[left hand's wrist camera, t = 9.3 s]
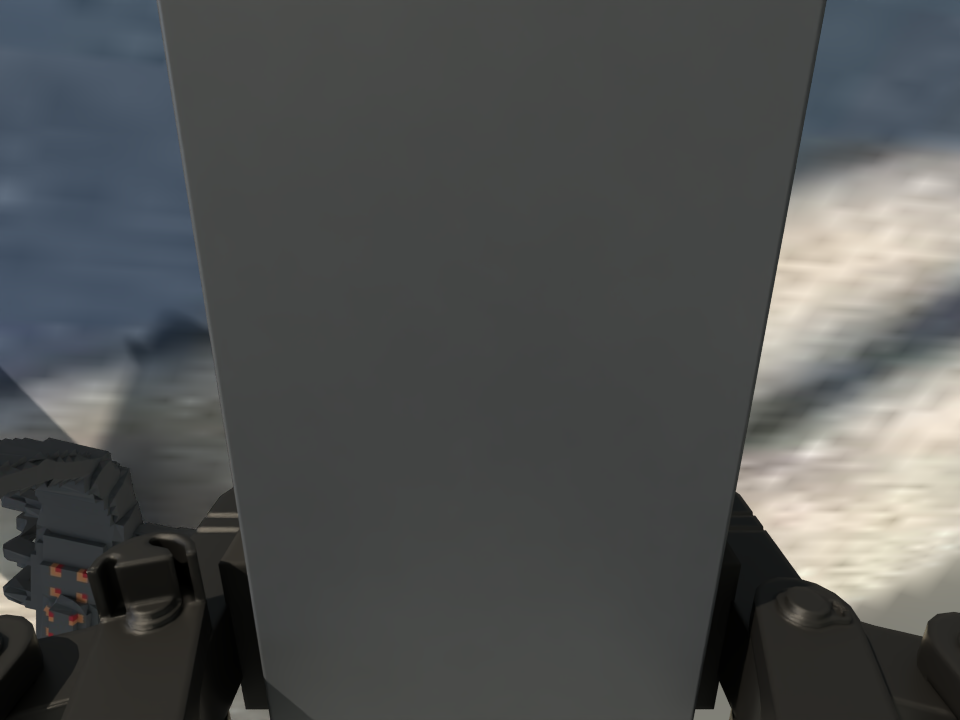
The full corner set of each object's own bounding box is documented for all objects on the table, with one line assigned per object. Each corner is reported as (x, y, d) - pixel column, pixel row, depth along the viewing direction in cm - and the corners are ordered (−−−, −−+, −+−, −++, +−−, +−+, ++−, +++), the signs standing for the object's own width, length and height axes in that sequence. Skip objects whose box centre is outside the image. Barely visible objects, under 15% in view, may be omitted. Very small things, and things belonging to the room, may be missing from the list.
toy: (258, 383, 34) (21, 624, 17) (213, 714, 43) (27, 1095, 26) (21, 327, 33) (-487, 521, 16) (25, 677, 42) (-299, 1046, 25)
